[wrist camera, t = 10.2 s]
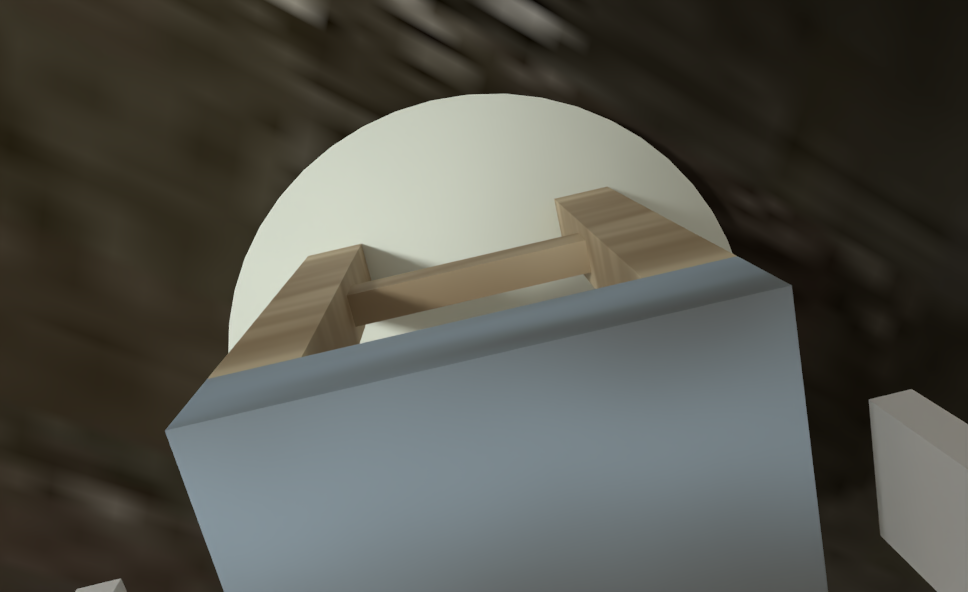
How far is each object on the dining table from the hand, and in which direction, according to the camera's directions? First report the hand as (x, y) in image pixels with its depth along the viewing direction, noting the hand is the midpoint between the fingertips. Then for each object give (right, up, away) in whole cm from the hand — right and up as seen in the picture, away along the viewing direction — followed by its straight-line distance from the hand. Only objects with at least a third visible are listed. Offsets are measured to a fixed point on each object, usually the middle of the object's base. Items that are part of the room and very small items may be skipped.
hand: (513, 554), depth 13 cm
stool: (0, +2, +10) cm, 11 cm away
